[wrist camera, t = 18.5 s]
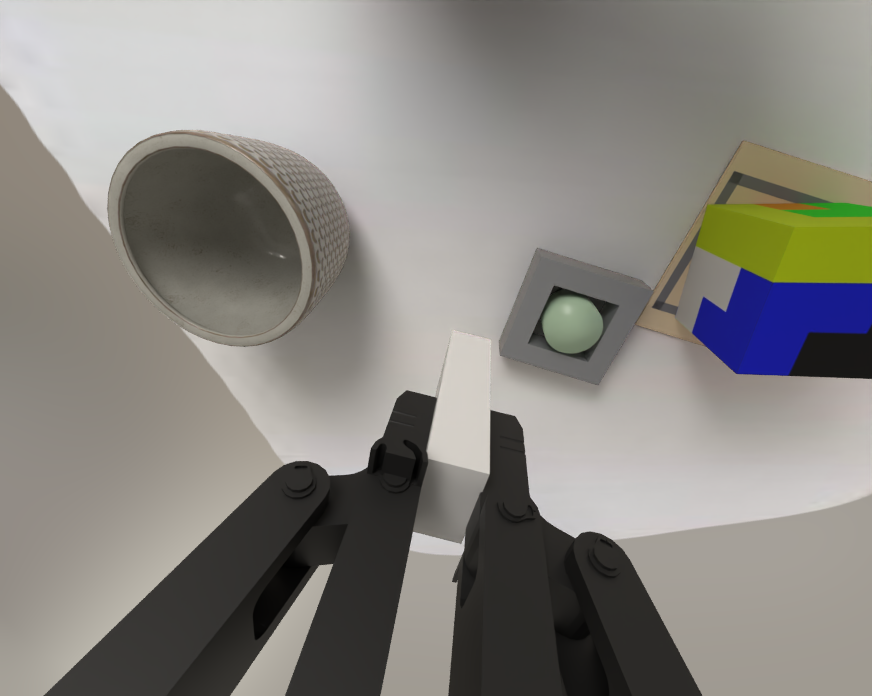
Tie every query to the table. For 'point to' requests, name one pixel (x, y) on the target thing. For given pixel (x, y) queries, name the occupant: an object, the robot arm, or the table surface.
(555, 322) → the button
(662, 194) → the table surface
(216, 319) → the planter
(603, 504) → the table surface
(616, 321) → the button box
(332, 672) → the robot arm
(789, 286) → the puzzle toy
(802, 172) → the sheet
